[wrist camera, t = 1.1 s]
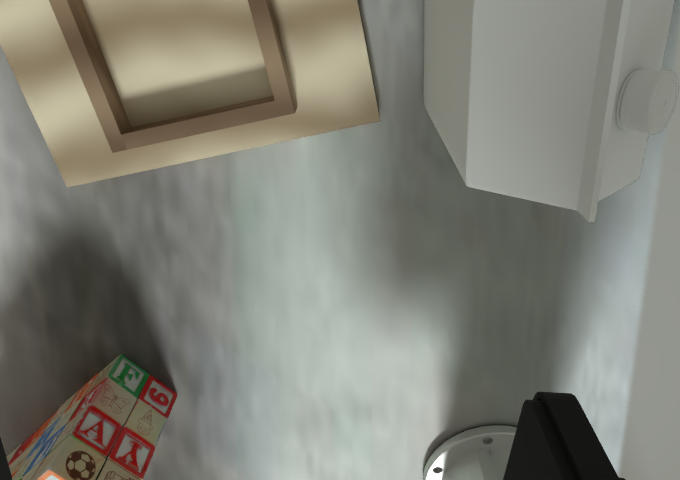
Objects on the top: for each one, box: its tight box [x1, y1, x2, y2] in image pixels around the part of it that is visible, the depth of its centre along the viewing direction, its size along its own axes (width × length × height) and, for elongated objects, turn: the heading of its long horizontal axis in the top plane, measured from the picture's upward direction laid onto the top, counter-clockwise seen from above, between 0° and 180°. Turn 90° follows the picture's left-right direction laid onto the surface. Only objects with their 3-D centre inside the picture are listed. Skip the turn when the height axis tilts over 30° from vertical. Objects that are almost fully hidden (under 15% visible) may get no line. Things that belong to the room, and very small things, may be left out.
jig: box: [0, 0, 380, 187], centre depth 33 cm, size 16×22×3 cm
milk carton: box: [424, 0, 679, 222], centre depth 25 cm, size 7×7×19 cm
